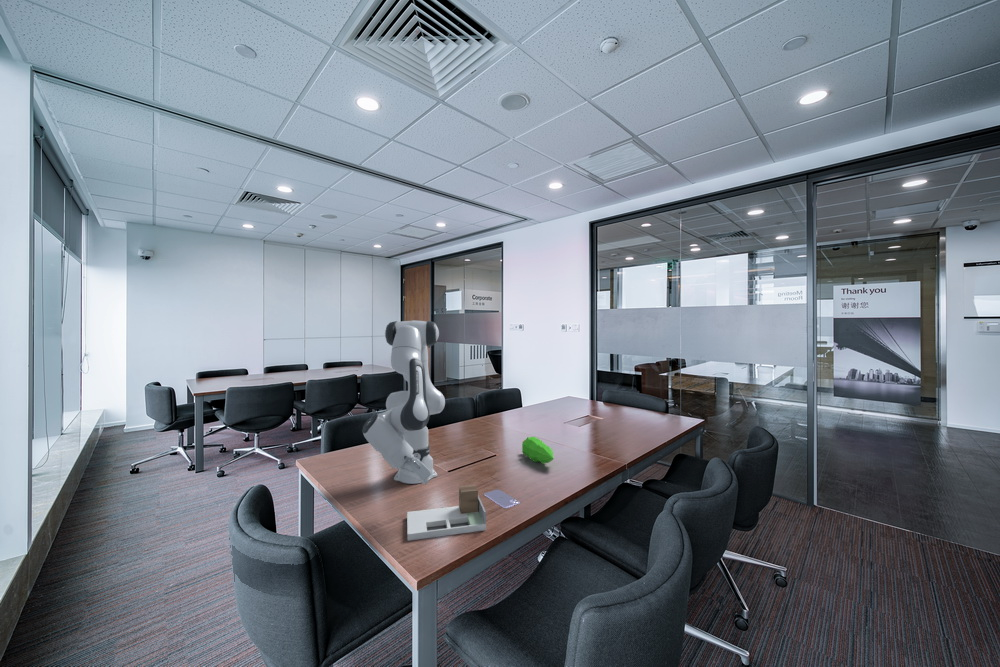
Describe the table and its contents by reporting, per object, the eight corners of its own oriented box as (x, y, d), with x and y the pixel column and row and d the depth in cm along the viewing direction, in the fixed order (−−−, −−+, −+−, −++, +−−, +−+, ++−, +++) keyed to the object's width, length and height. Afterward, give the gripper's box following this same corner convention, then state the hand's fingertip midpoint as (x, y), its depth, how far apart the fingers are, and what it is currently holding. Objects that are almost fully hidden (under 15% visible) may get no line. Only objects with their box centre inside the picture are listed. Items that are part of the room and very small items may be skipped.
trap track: (407, 517, 130) (407, 500, 130) (477, 509, 136) (477, 492, 136) (407, 540, 115) (407, 521, 115) (486, 530, 121) (485, 511, 121)
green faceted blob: (530, 429, 202) (558, 442, 174) (538, 448, 203) (567, 464, 175) (513, 439, 198) (539, 454, 170) (520, 458, 199) (547, 476, 171)
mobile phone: (498, 488, 153) (520, 501, 141) (498, 490, 153) (520, 504, 141) (482, 492, 149) (504, 507, 136) (482, 495, 149) (504, 509, 136)
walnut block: (459, 507, 133) (459, 486, 133) (475, 505, 135) (475, 484, 135) (461, 513, 128) (461, 492, 128) (478, 511, 130) (478, 490, 130)
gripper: (418, 451, 119) (444, 480, 123) (396, 445, 136) (420, 470, 139) (404, 466, 116) (431, 496, 119) (383, 458, 132) (408, 484, 136)
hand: (425, 482), depth 129 cm, fingers closed
